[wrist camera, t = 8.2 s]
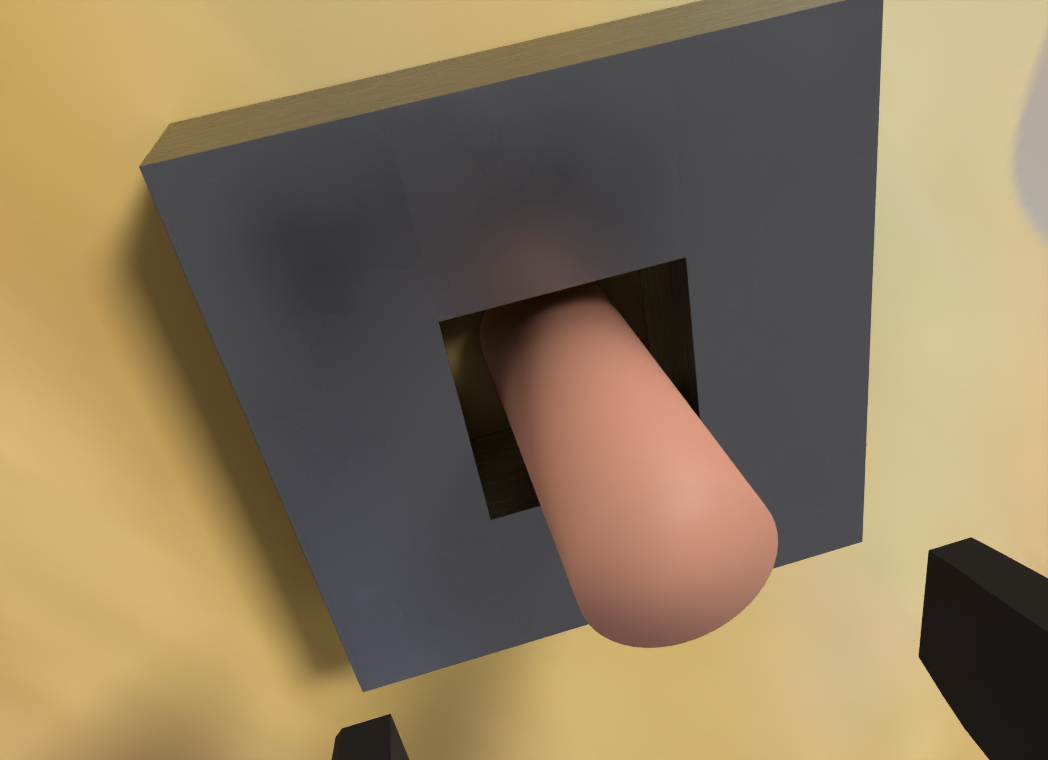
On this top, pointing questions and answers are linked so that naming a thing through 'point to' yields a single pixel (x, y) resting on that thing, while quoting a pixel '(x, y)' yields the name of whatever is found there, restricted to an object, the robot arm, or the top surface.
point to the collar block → (537, 289)
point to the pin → (625, 473)
